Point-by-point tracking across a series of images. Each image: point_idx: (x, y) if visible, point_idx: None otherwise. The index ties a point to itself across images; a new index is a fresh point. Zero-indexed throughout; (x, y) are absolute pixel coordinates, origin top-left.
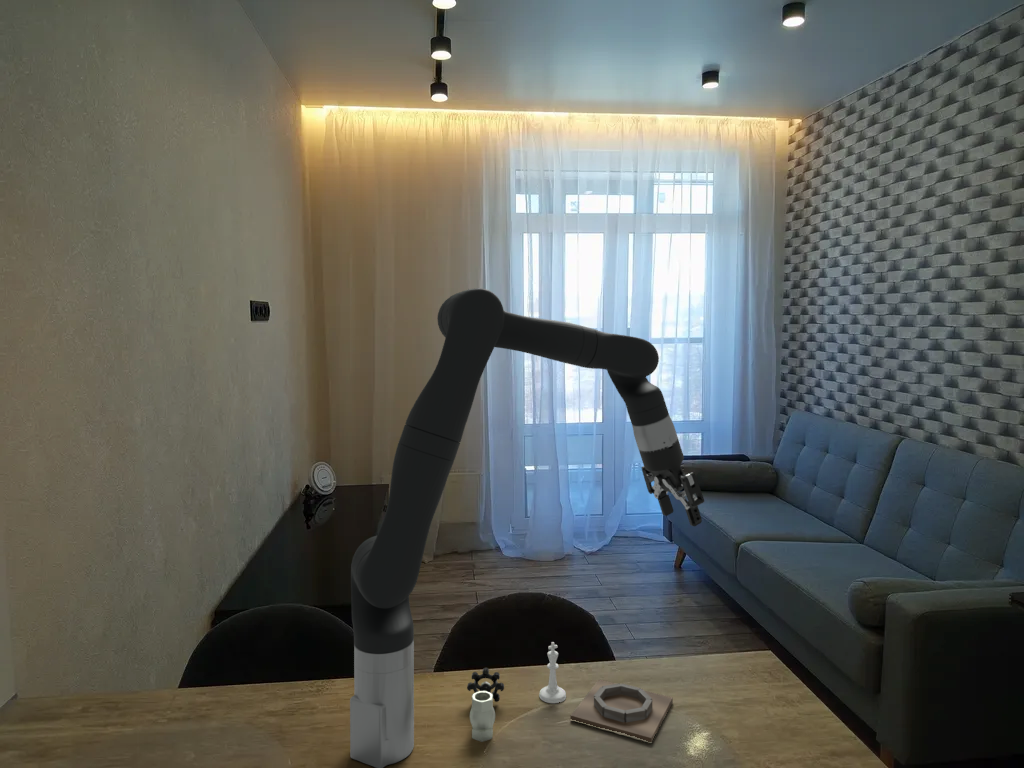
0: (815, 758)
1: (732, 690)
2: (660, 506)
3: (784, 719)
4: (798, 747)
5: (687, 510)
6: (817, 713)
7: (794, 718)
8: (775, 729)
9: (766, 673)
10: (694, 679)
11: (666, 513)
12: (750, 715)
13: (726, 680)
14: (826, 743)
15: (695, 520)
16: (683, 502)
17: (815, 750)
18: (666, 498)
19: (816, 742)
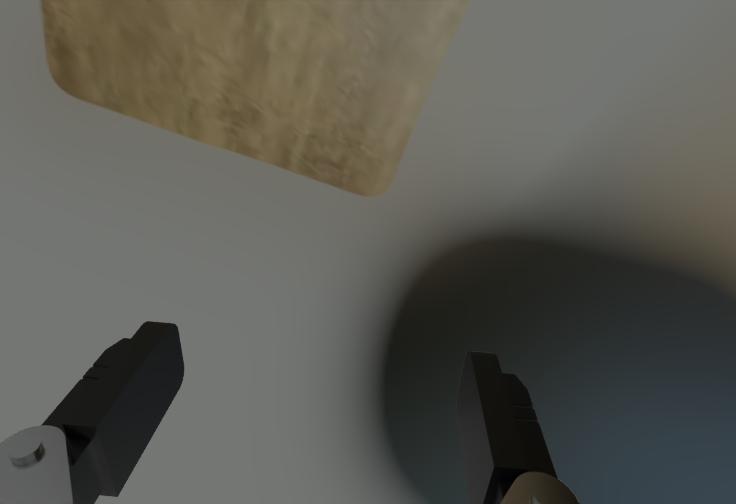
0: (44, 6)
1: (303, 54)
2: (505, 406)
3: (178, 61)
4: (80, 6)
5: (77, 414)
6: (190, 127)
7: (180, 80)
8: (145, 16)
9: (336, 159)
10: (376, 10)
11: (467, 369)
12: (202, 9)
13: (343, 74)
14: (95, 65)
15: (99, 359)
16: (37, 485)
17: (71, 28)
18: (476, 494)
19: (98, 51)
